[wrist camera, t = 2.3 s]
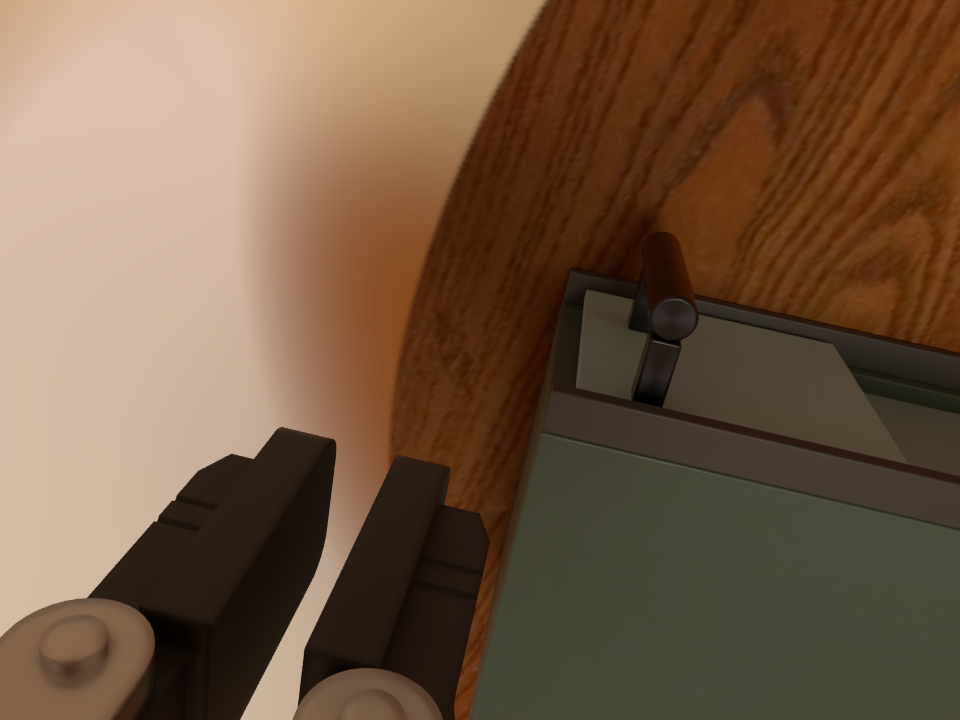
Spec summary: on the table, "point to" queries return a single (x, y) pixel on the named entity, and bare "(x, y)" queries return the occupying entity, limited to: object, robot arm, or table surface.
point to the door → (720, 363)
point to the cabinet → (729, 551)
